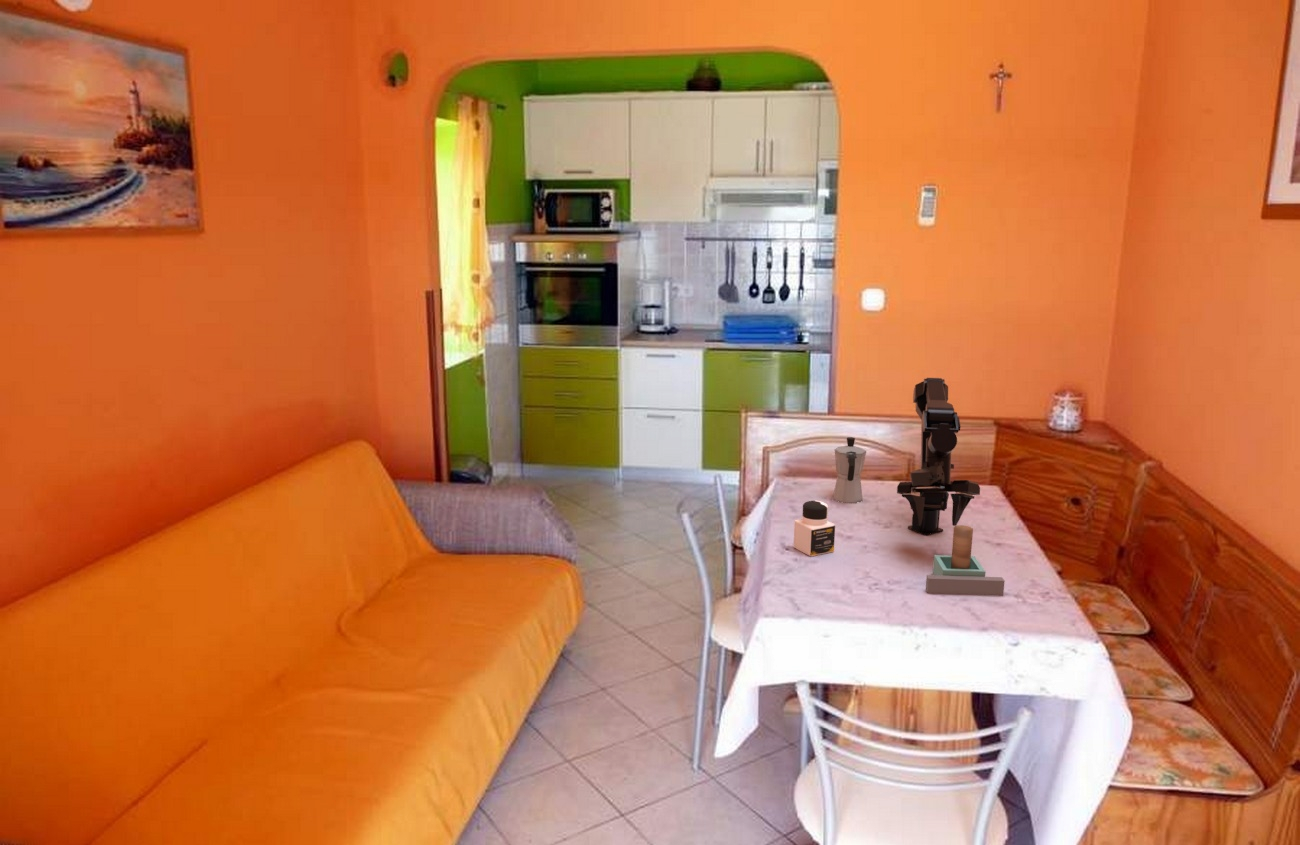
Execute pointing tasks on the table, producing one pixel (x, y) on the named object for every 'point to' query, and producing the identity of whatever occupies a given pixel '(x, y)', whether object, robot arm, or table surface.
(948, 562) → the socket block
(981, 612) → the table surface
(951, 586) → the backstop wall
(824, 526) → the medicine bottle
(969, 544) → the dowel
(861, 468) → the coffee maker
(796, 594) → the table surface
